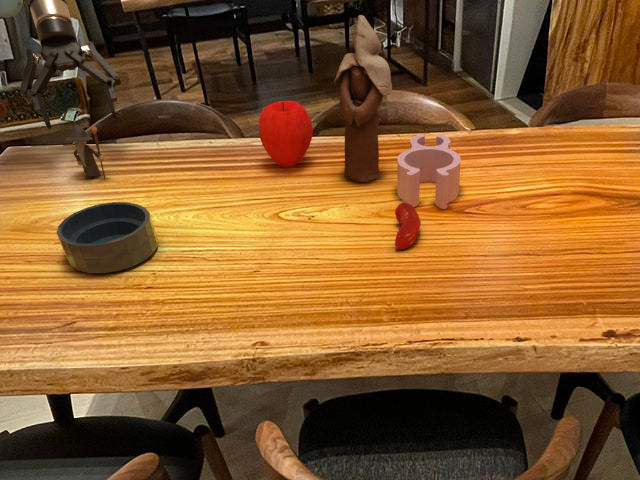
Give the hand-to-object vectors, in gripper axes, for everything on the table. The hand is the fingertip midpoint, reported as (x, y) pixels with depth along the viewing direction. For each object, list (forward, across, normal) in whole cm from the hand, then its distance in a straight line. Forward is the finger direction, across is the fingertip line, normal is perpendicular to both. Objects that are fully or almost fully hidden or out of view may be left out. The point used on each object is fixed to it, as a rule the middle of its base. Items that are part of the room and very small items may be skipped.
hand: (81, 120), depth 134 cm
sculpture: (+29, -55, +14) cm, 63 cm away
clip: (+36, -64, +21) cm, 76 cm away
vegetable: (+48, -52, +33) cm, 78 cm away
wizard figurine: (+11, 0, -4) cm, 12 cm away
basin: (+36, -1, +22) cm, 42 cm away
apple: (+20, -40, +5) cm, 45 cm away
